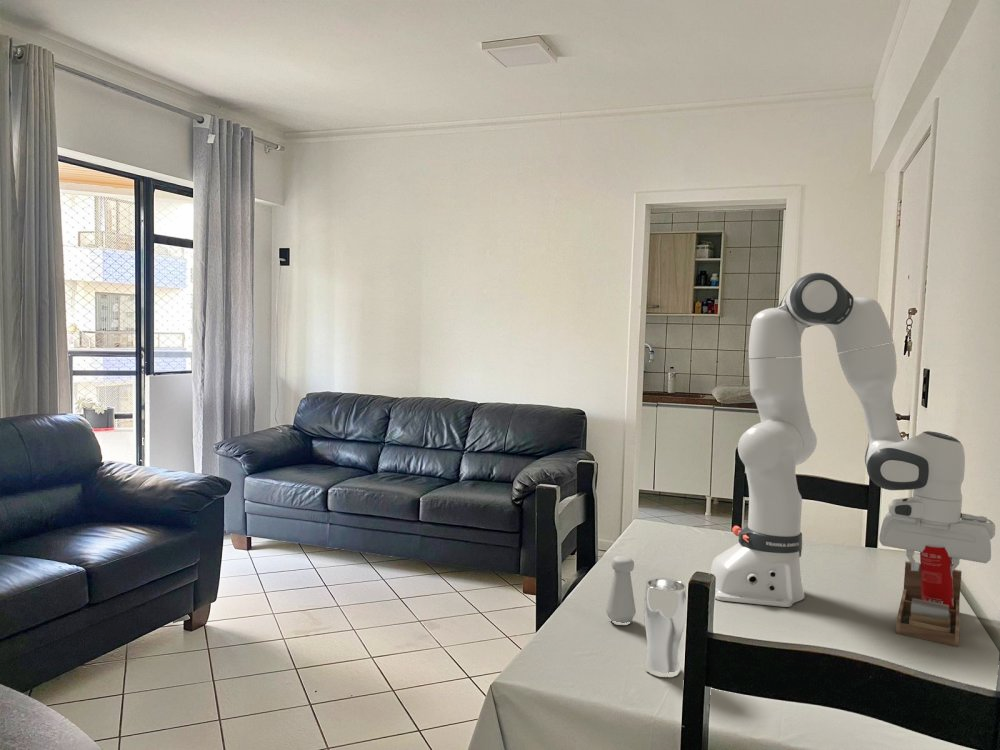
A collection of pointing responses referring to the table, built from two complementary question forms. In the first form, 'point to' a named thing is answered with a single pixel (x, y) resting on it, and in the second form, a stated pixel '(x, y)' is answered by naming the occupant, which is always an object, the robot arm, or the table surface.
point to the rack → (914, 591)
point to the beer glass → (664, 622)
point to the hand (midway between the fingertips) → (931, 574)
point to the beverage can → (937, 576)
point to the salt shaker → (621, 591)
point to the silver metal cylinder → (930, 615)
